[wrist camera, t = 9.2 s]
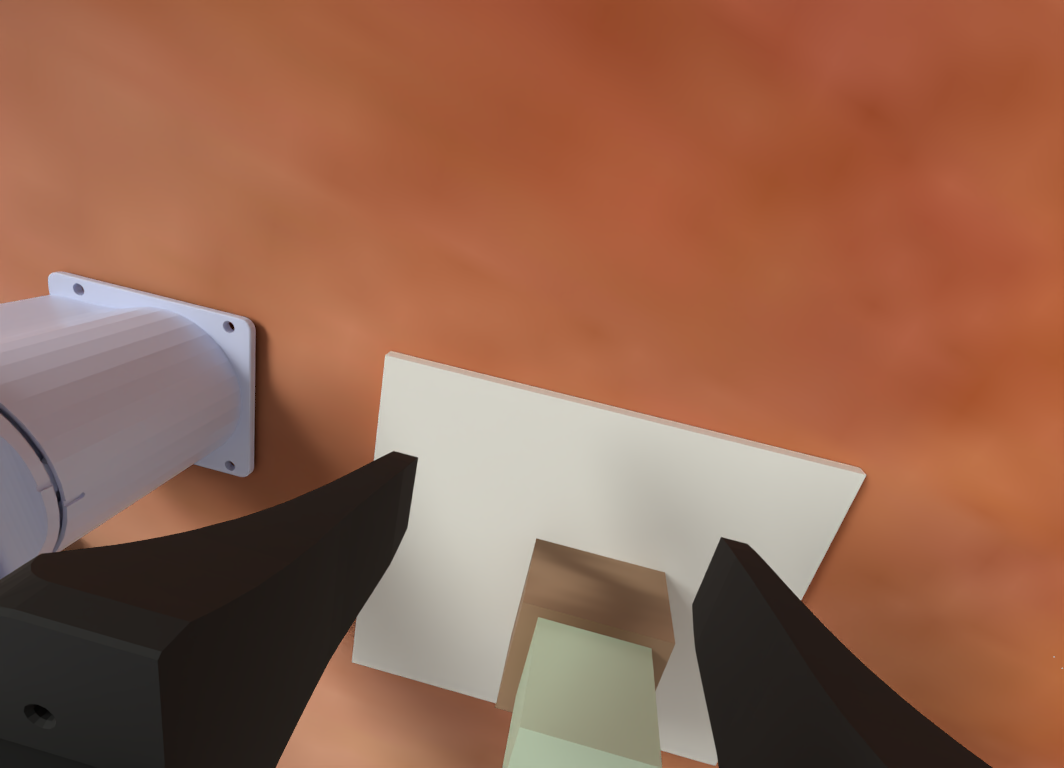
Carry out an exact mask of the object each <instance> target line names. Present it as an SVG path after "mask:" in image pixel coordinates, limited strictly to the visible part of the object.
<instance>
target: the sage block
mask: <svg viewBox="0 0 1064 768" xmlns="http://www.w3.org/2000/svg"><path fill="white" fill-rule="evenodd" d="M502 768H662V760H661V749H660V738H659V727H658V716H657V704H656V693H655V682H654V671H653V660H652V649H651V648H648V647H645V646H641V645H637V644H634V643H630V642H627V641H623V640H619V639H616V638H612V637H609V636H605V635H601V634H598V633H594V632H590V631H587V630H583V629H580V628H576V627H572V626H569V625H565V624H562V623H558V622H554V621H551V620H547V619H543V618H540V617H538V620H537V623H536V627H535V630H534V634H533V637H532V641H531V644H530V648H529V651H528V655H527V658H526V662H525V666H524V669H523V673H522V676H521V680H520V683H519V687H518V690H517V694H516V698H515V703H514V708H513V714H512V719H511V724H510V730H509V735H508V740H507V746H506V751H505V756H504V762H503V767H502Z"/></svg>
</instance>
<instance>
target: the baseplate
mask: <svg viewBox="0 0 1064 768" xmlns="http://www.w3.org/2000/svg"><path fill="white" fill-rule="evenodd" d="M392 451H396V452H400V453H403V454H407V455H411V456H415V457H418V463H417V469H416V476H415V482H414V489H413V495H412V502H411V508H410V515H409V521H408V528H407V530H406V532H405V534H404V537H403V539H402V541H401V543H400V545H399V547H398V550H397V552H396V554H395V556H394V558H393V560H392V562H391V564H390V566H389V567H388V569H387V570H386V572H385V574H384V575H383V577H382V578H381V580H380V582H379V583H378V585H377V586H376V588H375V589H374V591H373V593H372V594H371V596H370V597H369V599H368V600H367V602H366V603H365V605H364V607H363V608H362V610H361V611H360V613H359V614H358V616H357V619H356V628H355V637H354V646H353V655H352V662H353V663H356V664H360V665H363V666H367V667H370V668H374V669H377V670H381V671H384V672H388V673H391V674H395V675H398V676H402V677H405V678H409V679H412V680H416V681H419V682H423V683H426V684H430V685H433V686H437V687H440V688H444V689H447V690H451V691H454V692H458V693H461V694H465V695H468V696H472V697H475V698H479V699H482V700H486V701H489V702H493V703H496V702H497V697H498V693H499V688H500V684H501V679H502V675H503V670H504V666H505V661H506V657H507V652H508V648H509V643H510V639H511V634H512V630H513V627H514V623H515V619H516V615H517V611H518V607H519V603H520V600H521V596H522V592H523V588H524V584H525V580H526V576H527V573H528V569H529V565H530V561H531V557H532V553H533V549H534V546H535V542H536V538H537V539H541V540H545V541H548V542H552V543H556V544H560V545H564V546H567V547H571V548H575V549H579V550H582V551H586V552H590V553H594V554H597V555H601V556H605V557H609V558H612V559H616V560H620V561H624V562H628V563H631V564H635V565H639V566H643V567H646V568H650V569H654V570H658V571H661V572H665V575H666V582H667V589H668V596H669V603H670V610H671V617H672V624H673V631H674V638H675V646H674V648H673V651H672V653H671V655H670V658H669V660H668V662H667V665H666V667H665V670H664V672H663V674H662V677H661V679H660V682H659V684H658V686H657V689H656V691H655V693H656V704H657V716H658V727H659V738H660V749H661V751H665V752H668V753H672V754H675V755H679V756H682V757H686V758H689V759H693V760H696V761H700V762H703V763H707V764H710V765H714V766H715V765H716V764H717V762H718V759H717V753H716V748H715V743H714V738H713V734H712V729H711V724H710V719H709V715H708V710H707V705H706V700H705V696H704V691H703V686H702V681H701V676H700V671H699V666H698V661H697V656H696V651H695V643H694V631H693V615H692V604H693V601H694V599H695V597H696V594H697V592H698V590H699V587H700V585H701V583H702V580H703V578H704V576H705V573H706V571H707V569H708V566H709V564H710V562H711V559H712V557H713V555H714V552H715V550H716V548H717V545H718V543H719V541H720V538H721V537H723V538H727V539H731V540H735V541H739V542H742V543H746V544H748V545H749V546H750V547H752V548H753V549H754V550H755V551H756V552H757V553H758V554H759V555H760V557H761V558H762V559H763V560H764V561H765V562H766V563H767V564H768V565H769V566H770V567H771V568H772V570H773V571H774V572H775V573H776V574H777V575H778V576H779V577H780V578H781V579H782V581H783V582H784V583H785V584H786V585H787V586H788V587H789V588H790V589H791V590H792V592H793V593H794V594H795V595H796V596H797V597H798V598H799V599H800V600H802V598H803V596H804V594H805V592H806V590H807V588H808V586H809V585H810V583H811V581H812V579H813V577H814V575H815V573H816V571H817V569H818V567H819V565H820V563H821V561H822V560H823V558H824V556H825V554H826V552H827V550H828V548H829V546H830V544H831V542H832V540H833V538H834V536H835V534H836V533H837V531H838V529H839V527H840V525H841V523H842V521H843V519H844V517H845V515H846V513H847V511H848V509H849V508H850V506H851V504H852V502H853V500H854V498H855V496H856V494H857V492H858V490H859V488H860V486H861V484H862V483H863V481H864V479H865V477H866V474H865V473H864V472H863V471H862V470H861V468H859V467H855V466H851V465H847V464H843V463H839V462H835V461H831V460H827V459H823V458H819V457H815V456H811V455H807V454H803V453H799V452H795V451H791V450H787V449H783V448H779V447H775V446H771V445H767V444H763V443H759V442H755V441H751V440H747V439H743V438H739V437H735V436H731V435H727V434H723V433H719V432H715V431H711V430H707V429H703V428H699V427H695V426H691V425H686V424H682V423H678V422H674V421H670V420H666V419H662V418H658V417H654V416H650V415H646V414H642V413H638V412H634V411H630V410H626V409H622V408H618V407H614V406H610V405H606V404H602V403H598V402H594V401H590V400H586V399H582V398H578V397H574V396H570V395H566V394H562V393H558V392H554V391H550V390H546V389H542V388H538V387H534V386H530V385H526V384H522V383H518V382H514V381H510V380H506V379H502V378H498V377H494V376H490V375H486V374H481V373H477V372H473V371H469V370H465V369H461V368H457V367H453V366H449V365H445V364H441V363H437V362H433V361H429V360H425V359H421V358H417V357H413V356H409V355H405V354H401V353H397V352H393V351H390V352H389V353H388V354H386V355H385V363H384V372H383V381H382V391H381V400H380V409H379V418H378V427H377V436H376V445H375V454H374V461H375V460H376V459H378V458H380V457H382V456H384V455H386V454H388V453H390V452H392Z"/></svg>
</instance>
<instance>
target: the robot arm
mask: <svg viewBox="0 0 1064 768" xmlns="http://www.w3.org/2000/svg"><path fill="white" fill-rule="evenodd" d="M48 285H49V292H50V295H46V296H41V297H35V298H30V299H24V300H19V301H14V302H8V303H3V304H0V768H276V766H277V763H278V761H279V759H280V757H281V755H282V753H283V751H284V749H285V747H286V745H287V743H288V741H289V739H290V737H291V735H292V733H293V731H294V729H295V727H296V725H297V723H298V721H299V719H300V717H301V715H302V713H303V711H304V709H305V707H306V705H307V703H308V701H309V699H310V697H311V695H312V693H313V691H314V689H315V687H316V685H317V683H318V682H319V680H320V678H321V676H322V674H323V672H324V670H325V668H326V666H327V664H328V662H329V661H330V659H331V657H332V656H333V654H334V652H335V650H336V649H337V647H338V645H339V644H340V642H341V641H342V639H343V638H344V636H345V634H346V633H347V631H348V630H349V628H350V627H351V625H352V624H353V622H354V620H355V619H356V617H357V616H358V614H359V613H360V611H361V610H362V608H363V607H364V605H365V603H366V602H367V600H368V599H369V597H370V596H371V594H372V593H373V591H374V589H375V588H376V586H377V585H378V583H379V582H380V580H381V578H382V577H383V575H384V574H385V572H386V570H387V569H388V567H389V566H390V564H391V562H392V560H393V558H394V556H395V554H396V552H397V550H398V547H399V545H400V543H401V541H402V539H403V537H404V534H405V532H406V530H407V528H408V521H409V515H410V508H411V502H412V495H413V489H414V482H415V476H416V469H417V463H418V457H415V456H411V455H407V454H403V453H400V452H396V451H392V452H390V453H388V454H386V455H384V456H382V457H380V458H378V459H376V460H375V461H373V462H371V463H369V464H367V465H365V466H363V467H361V468H359V469H357V470H355V471H353V472H351V473H349V474H347V475H345V476H343V477H341V478H339V479H337V480H335V481H333V482H331V483H329V484H327V485H324V486H322V487H320V488H318V489H315V490H313V491H311V492H308V493H306V494H304V495H302V496H299V497H297V498H295V499H292V500H290V501H287V502H285V503H282V504H279V505H277V506H274V507H271V508H268V509H265V510H262V511H259V512H256V513H253V514H250V515H247V516H244V517H241V518H238V519H234V520H230V521H226V522H222V523H219V524H215V525H211V526H207V527H203V528H200V529H196V530H192V531H188V532H183V533H178V534H173V535H169V536H164V537H159V538H153V539H148V540H142V541H136V542H131V543H124V544H118V545H111V546H103V547H94V548H86V549H78V550H70V551H62V550H63V549H65V548H66V547H68V546H69V545H71V544H72V543H74V542H75V541H77V540H78V539H80V538H81V537H83V536H84V535H86V534H88V533H89V532H91V531H92V530H94V529H95V528H97V527H98V526H100V525H101V524H103V523H104V522H106V521H107V520H109V519H110V518H112V517H113V516H115V515H117V514H118V513H120V512H121V511H123V510H124V509H126V508H127V507H129V506H130V505H132V504H133V503H135V502H136V501H138V500H139V499H141V498H142V497H144V496H146V495H147V494H149V493H150V492H152V491H153V490H155V489H156V488H158V487H159V486H161V485H162V484H164V483H165V482H167V481H168V480H170V479H171V478H173V477H175V476H176V475H178V474H179V473H181V472H182V471H184V470H185V469H187V468H188V467H190V466H191V465H193V464H194V465H198V466H202V467H206V468H209V469H213V470H217V471H221V472H224V473H228V474H232V475H235V476H239V477H246V476H248V475H249V474H251V473H252V472H253V470H254V434H255V347H256V329H255V325H254V324H253V322H252V321H251V320H250V319H249V318H246V317H244V316H239V315H235V314H231V313H227V312H223V311H219V310H215V309H211V308H207V307H203V306H199V305H195V304H191V303H187V302H183V301H179V300H175V299H171V298H167V297H163V296H159V295H155V294H151V293H147V292H143V291H139V290H135V289H131V288H127V287H123V286H119V285H115V284H111V283H107V282H103V281H99V280H95V279H91V278H87V277H83V276H79V275H75V274H71V273H67V272H54V273H51V274H50V275H49V277H48ZM81 286H82V287H83V289H84V291H83V290H82V287H81ZM229 322H231V323H232V324H233V325H234V328H235V329H234V330H233V329H231V327H230V325H229ZM230 461H231V462H233V464H234V465H235V466H233V465H232V464H231V462H230ZM60 551H61V552H60ZM692 615H693V631H694V643H695V651H696V656H697V661H698V666H699V671H700V676H701V681H702V686H703V691H704V696H705V700H706V705H707V710H708V715H709V719H710V724H711V729H712V734H713V738H714V743H715V748H716V753H717V759H718V765H719V768H992V767H991V766H989V765H988V764H987V763H985V762H984V761H983V760H981V759H980V758H978V757H977V756H976V755H974V754H973V753H972V752H970V751H969V750H967V749H966V748H965V747H963V746H962V745H961V744H959V743H958V742H957V741H956V740H954V739H953V738H952V737H950V736H949V735H948V734H947V733H945V732H944V731H943V730H941V729H940V728H939V727H937V726H936V725H935V724H934V723H932V722H931V721H930V720H928V719H927V718H926V717H925V716H923V715H922V714H921V713H920V712H918V711H917V710H916V709H915V708H914V707H912V706H911V705H910V704H909V703H907V702H906V701H905V700H904V699H903V698H901V697H900V696H899V695H898V694H897V693H896V692H895V691H893V690H892V689H891V688H890V687H889V686H888V685H887V684H885V683H884V682H883V681H882V680H881V679H880V678H879V677H877V676H876V675H875V674H874V673H873V672H872V671H871V670H870V669H868V668H867V667H866V666H865V665H864V664H863V663H862V662H861V661H860V660H859V659H858V658H857V657H856V656H854V655H853V654H852V653H851V652H850V651H849V650H848V649H847V648H846V647H845V646H844V645H843V644H842V643H841V642H840V641H839V640H838V639H837V638H836V637H835V636H834V635H833V634H832V633H831V632H830V631H829V630H828V629H827V628H826V627H825V626H824V625H823V624H822V623H821V622H820V621H819V619H818V618H817V617H816V616H815V615H814V614H813V613H812V612H811V611H810V610H809V609H808V608H807V607H806V606H805V605H804V604H803V602H802V601H801V600H800V599H799V598H798V597H797V596H796V595H795V594H794V593H793V592H792V590H791V589H790V588H789V587H788V586H787V585H786V584H785V583H784V582H783V581H782V579H781V578H780V577H779V576H778V575H777V574H776V573H775V572H774V571H773V570H772V568H771V567H770V566H769V565H768V564H767V563H766V562H765V561H764V560H763V559H762V558H761V557H760V555H759V554H758V553H757V552H756V551H755V550H754V549H753V548H752V547H750V546H749V545H748V544H746V543H742V542H739V541H735V540H731V539H727V538H723V537H721V538H720V541H719V543H718V545H717V548H716V550H715V552H714V555H713V557H712V559H711V562H710V564H709V566H708V569H707V571H706V573H705V576H704V578H703V580H702V583H701V585H700V587H699V590H698V592H697V594H696V597H695V599H694V601H693V604H692Z"/></svg>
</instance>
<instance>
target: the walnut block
mask: <svg viewBox="0 0 1064 768" xmlns="http://www.w3.org/2000/svg"><path fill="white" fill-rule="evenodd" d="M538 617H540V618H543V619H547V620H551V621H554V622H558V623H562V624H565V625H569V626H572V627H576V628H580V629H583V630H587V631H590V632H594V633H598V634H601V635H605V636H609V637H612V638H616V639H619V640H623V641H627V642H630V643H634V644H637V645H641V646H645V647H648V648H651V649H652V660H653V671H654V682H655V691H656V689H657V686H658V684H659V682H660V679H661V677H662V674H663V672H664V670H665V667H666V665H667V662H668V660H669V658H670V655H671V653H672V651H673V648H674V646H675V638H674V631H673V624H672V617H671V610H670V603H669V596H668V589H667V582H666V575H665V572H661V571H658V570H654V569H650V568H646V567H643V566H639V565H635V564H631V563H628V562H624V561H620V560H616V559H612V558H609V557H605V556H601V555H597V554H594V553H590V552H586V551H582V550H579V549H575V548H571V547H567V546H564V545H560V544H556V543H552V542H548V541H545V540H541V539H537V538H536V542H535V546H534V549H533V553H532V557H531V561H530V565H529V569H528V573H527V576H526V580H525V584H524V588H523V592H522V596H521V600H520V603H519V607H518V611H517V615H516V619H515V623H514V627H513V630H512V634H511V639H510V643H509V648H508V652H507V657H506V661H505V666H504V670H503V675H502V679H501V684H500V688H499V693H498V697H497V702H496V706H495V708H498V709H502V710H505V711H509V712H512V713H513V708H514V703H515V698H516V694H517V690H518V687H519V683H520V680H521V676H522V673H523V669H524V666H525V662H526V658H527V655H528V651H529V648H530V644H531V641H532V637H533V634H534V630H535V627H536V623H537V620H538Z"/></svg>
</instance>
